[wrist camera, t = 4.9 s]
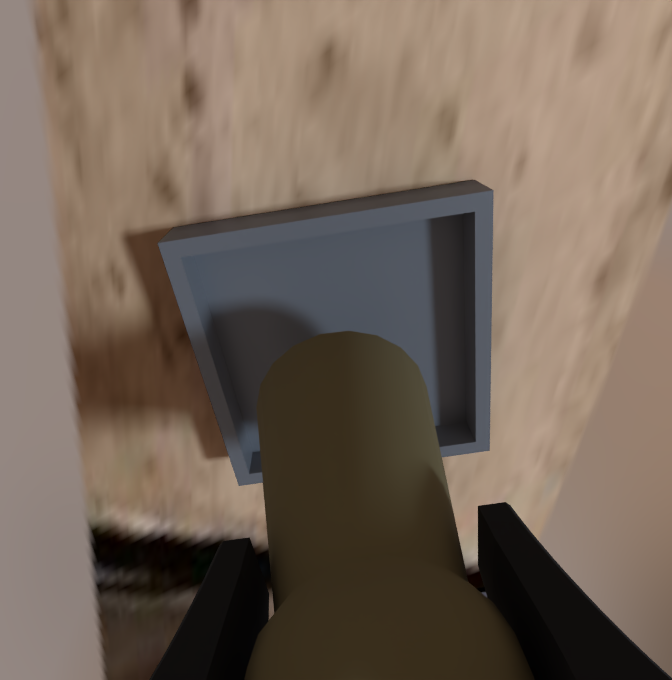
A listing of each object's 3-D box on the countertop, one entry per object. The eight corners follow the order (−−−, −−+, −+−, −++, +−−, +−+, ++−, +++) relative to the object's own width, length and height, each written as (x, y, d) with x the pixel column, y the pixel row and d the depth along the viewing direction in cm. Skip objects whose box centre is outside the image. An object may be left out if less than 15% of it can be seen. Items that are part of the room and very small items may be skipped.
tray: (475, 421, 22) (489, 450, 21) (244, 454, 23) (238, 485, 21) (474, 179, 17) (493, 190, 15) (173, 227, 17) (157, 243, 16)
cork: (254, 328, 15) (170, 755, 5) (439, 332, 15) (689, 725, 6) (257, 474, 18) (205, 941, 8) (415, 473, 18) (555, 908, 8)
